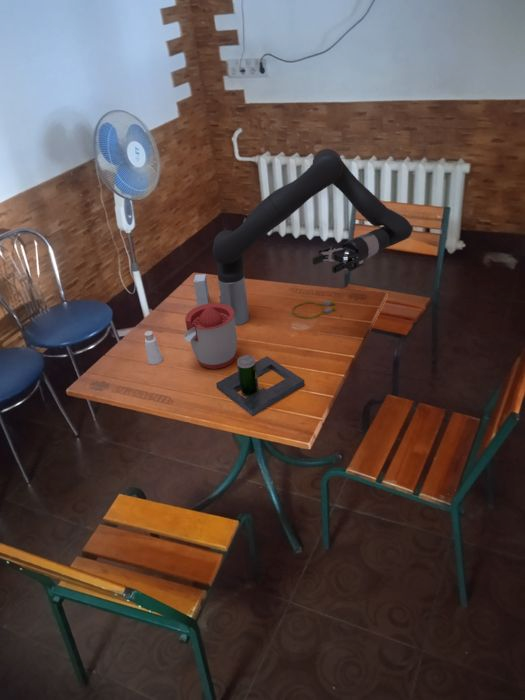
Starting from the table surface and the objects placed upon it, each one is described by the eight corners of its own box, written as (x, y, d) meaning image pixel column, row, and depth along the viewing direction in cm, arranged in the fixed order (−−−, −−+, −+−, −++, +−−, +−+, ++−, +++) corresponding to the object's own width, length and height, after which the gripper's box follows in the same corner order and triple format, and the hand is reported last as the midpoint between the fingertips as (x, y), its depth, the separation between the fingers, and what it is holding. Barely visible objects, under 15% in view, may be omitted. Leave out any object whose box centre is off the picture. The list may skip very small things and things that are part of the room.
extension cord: (332, 321, 199) (331, 316, 197) (289, 318, 203) (288, 314, 202) (337, 304, 208) (337, 299, 207) (296, 302, 212) (296, 297, 211)
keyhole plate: (267, 361, 181) (266, 356, 180) (304, 385, 169) (304, 379, 168) (217, 388, 172) (216, 383, 171) (252, 415, 160) (251, 410, 158)
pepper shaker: (157, 353, 191) (150, 326, 185) (166, 359, 188) (160, 331, 181) (144, 361, 188) (136, 333, 182) (153, 367, 185) (146, 339, 178)
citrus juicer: (180, 361, 186) (169, 309, 175) (223, 340, 194) (215, 289, 183) (205, 382, 175) (195, 328, 164) (250, 359, 183) (243, 306, 172)
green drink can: (243, 399, 166) (238, 366, 159) (239, 388, 171) (235, 356, 164) (260, 395, 167) (256, 363, 160) (257, 385, 171) (253, 353, 165)
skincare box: (209, 309, 213) (204, 281, 207) (198, 309, 214) (193, 281, 207) (210, 301, 218) (206, 273, 212) (199, 302, 219) (195, 274, 212)
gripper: (344, 231, 178) (306, 247, 170) (378, 243, 168) (339, 261, 161) (344, 253, 182) (307, 270, 174) (377, 265, 172) (340, 284, 165)
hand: (323, 265), depth 167 cm, fingers open, 8 cm apart
